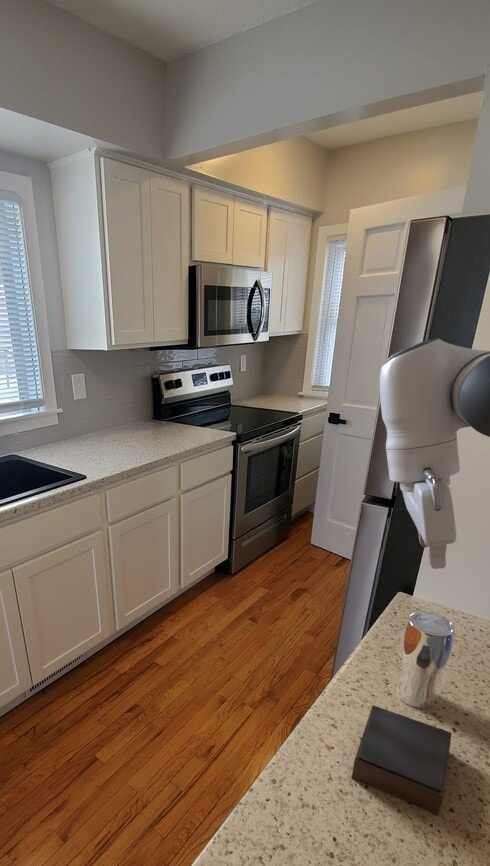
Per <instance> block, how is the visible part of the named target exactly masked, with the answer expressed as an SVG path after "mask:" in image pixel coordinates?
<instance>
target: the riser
mask: <svg viewBox="0 0 490 866" xmlns="http://www.w3.org/2000/svg"><path fill="white" fill-rule="evenodd" d="M451 741H452V732H450V731H448V730H445V729H442V728H440V727H436V726H433V725H431V724H428V723H425V722H422V721H420V720H418V719H417V720H416V719H414V718H411V717H408V716H405V715H402V714H399V713H396V712H395V711H390V710H388V709H385V708H382V707H379V706H377V705H372V706H371V708H370V711H369V715H368V718H367V721H366V724H365V727H364V729H363V733H362V736H361V739H360V742H359V745H358V748H357V750H356V751H357V752H356V754H355V757H354V761H353V768H352V773H351V779H353V780H355V781H358V782H360V783H362V784H364V785H367V786H369V787H372V788H374V789H376V790H378V791H380V792H383V793H385V794H388V795H389V796H392V797H395V798H397V799H400V800H401V801H403V802H406V803H409V804H410V805H413V806H415V807H418V808H419V809H422V810H424V811H426V812H429V813H432V814H434V815H436V816H439V814H440V811H441V807H442V804H443V800H444V797H445V789H446V781H447V772H448V765H449V757H450V748H451Z"/></svg>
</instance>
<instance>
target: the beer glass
mask: <svg viewBox="0 0 490 866" xmlns="http://www.w3.org/2000/svg"><path fill="white" fill-rule="evenodd" d="M455 631H456V626H455V624H454V623H453V622H452V621H451V619H448V618H447V617H446V616H444V615H442V614H439V613H436V612H432V611H416V612H413V613H411V614H410V615H409V617H408V621H407V625H406V627H405V631H404V635H403V639H402V645H401V661H402V662H401V663H402V665H401V666H402V671H401V677H400V679H399V682H398V683H397V686H396V689H395V691H396V692H395V693H396V695H397V697H398V698H399V700H401V701H402V702H403V703H405V704H406V705H408V706H411V707H413V708H416V709H428V708H431V707H433V706H434V705H435V704H436V700H437V695H436V693H437V692H436V691H437V690H436V689H437V684H438V682H439V679H440V678H441V675H442V674H443V672H444V671H445V668H446V666H447V664H448V662H449V659H450V657H451V653H452V648H453V644H454V637H455Z"/></svg>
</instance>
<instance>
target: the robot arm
mask: <svg viewBox="0 0 490 866" xmlns="http://www.w3.org/2000/svg"><path fill="white" fill-rule="evenodd" d="M379 400H380V411H381V418H382V421H383V423H384V426H385V429H386V442H385V451H386V460H387V467H388V469H387V470H388V477H389V480H390V481H391V482H394V483H399V488H400V489H399V490H400V491H401V492H402V496H403V499H404V503H405V507H406V510H407V512H408V513H409V515H410V517H411V519H412V521H413V523H414V525H415V527H416V529H417V533H418V540H419V544H420V546H421V547H422V548H428V559H429V565H430V567H431V568H432V569H434V570H436V569H437V570H438V569H444V568H445V567H446V566H447V561H446V556H447V555H446V553H447V547H448V545H452V544H454V543H456V540H457V527H456V519H455V512H454V511H455V510H454V503H453V497H452V494H451V489H450V485H451V476H454V475H456V474H459V472H460V471H461V470H460V457H459V445H458V435H457V433H458V431H459V430H460V429H463V428H465V429H466V428H470V427H471V428H472V429H473V430H475V431H476V432H478V433H479V434H481V435H483V436H486V437H488V438H490V350H483V349H474V348H469V347H464V346H459V345H456V344H451V343H450V342H446V341H444V340H443V339H441V338H435V337H434V338H430V339H426V340H423V341H421V342H418V343H416V344H413V345H410V346H408V347H407V348H404V349H402V350H400V351H398V352H395V353H394V354H392V355H390V357H388V358H387V359H386V361H385V362H384V363H383V365H382V366H381V369H380V372H379Z"/></svg>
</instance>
